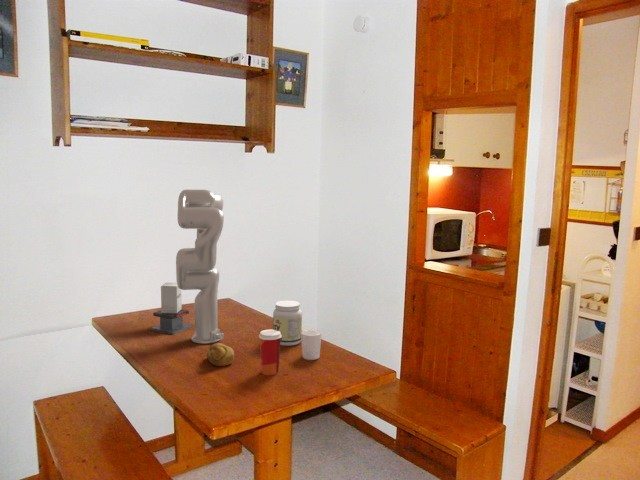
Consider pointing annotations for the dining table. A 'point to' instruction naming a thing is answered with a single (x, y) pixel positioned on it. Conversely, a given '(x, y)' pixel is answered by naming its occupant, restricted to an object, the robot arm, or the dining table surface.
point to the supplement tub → (288, 322)
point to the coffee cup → (270, 351)
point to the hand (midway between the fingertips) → (203, 257)
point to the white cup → (311, 344)
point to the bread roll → (220, 354)
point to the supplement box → (170, 298)
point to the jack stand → (171, 322)
